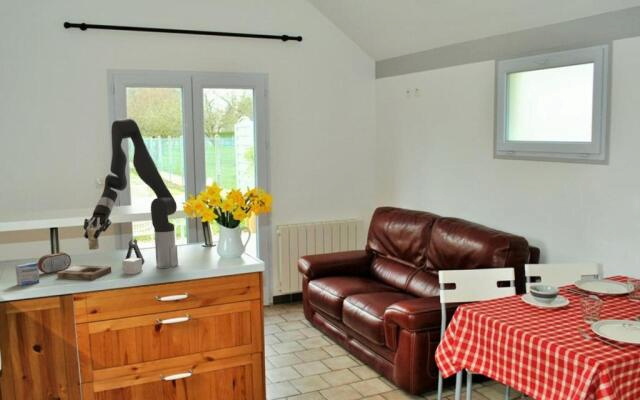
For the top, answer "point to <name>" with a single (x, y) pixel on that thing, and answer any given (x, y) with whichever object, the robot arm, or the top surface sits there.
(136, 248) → the dark grey angled piece
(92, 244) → the birch peg
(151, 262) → the top surface
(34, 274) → the medicine box
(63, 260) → the tin
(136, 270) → the white rounded cube
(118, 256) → the top surface
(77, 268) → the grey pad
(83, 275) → the brown wooden tray
